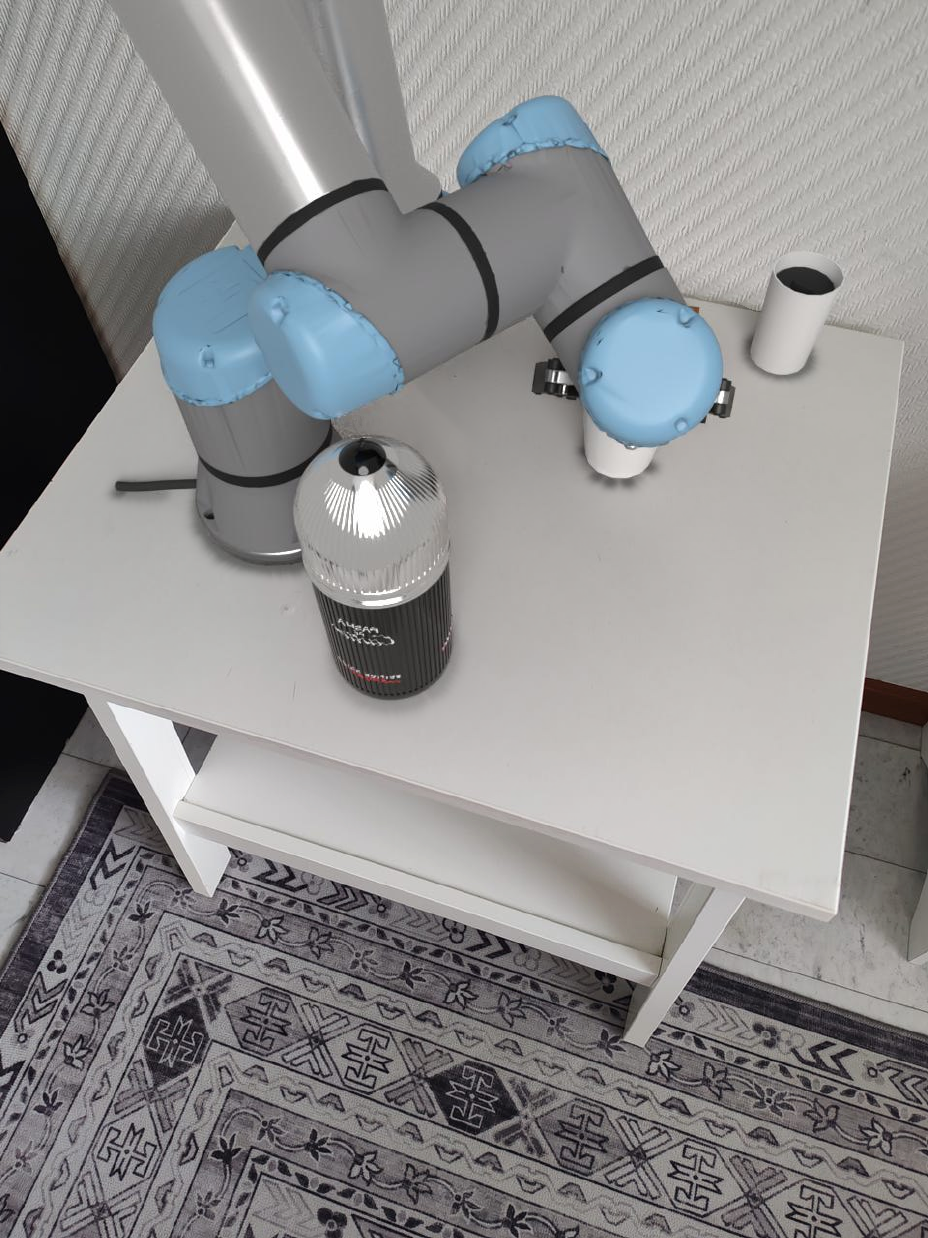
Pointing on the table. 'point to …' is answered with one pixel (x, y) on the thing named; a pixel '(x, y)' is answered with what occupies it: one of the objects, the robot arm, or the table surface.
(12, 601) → the table surface
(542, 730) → the table surface
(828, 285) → the white cylindrical cup
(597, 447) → the foam cup
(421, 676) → the spray bottle
